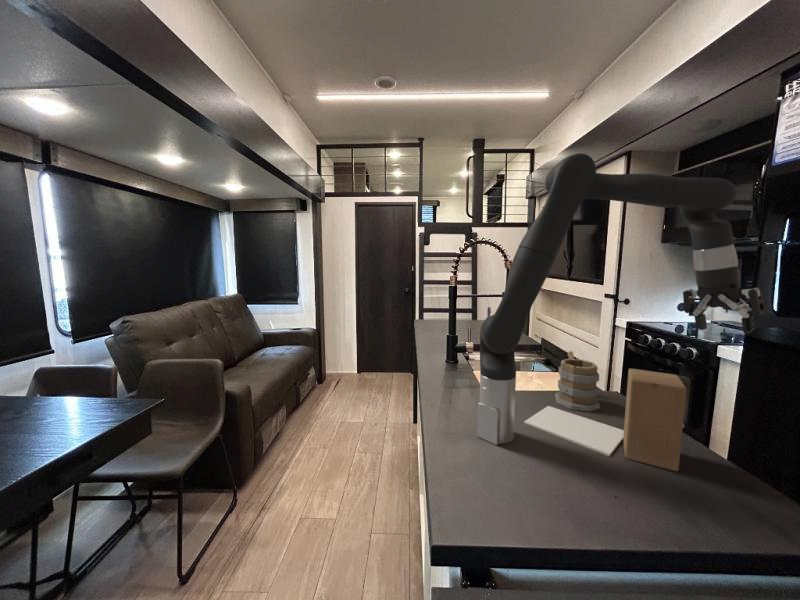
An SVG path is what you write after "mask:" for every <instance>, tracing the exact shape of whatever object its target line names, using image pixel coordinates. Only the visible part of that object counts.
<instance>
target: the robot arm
mask: <svg viewBox="0 0 800 600" xmlns="http://www.w3.org/2000/svg"><path fill="white" fill-rule="evenodd" d="M544 185H545V190H546V192H547V193H548V195H547V198H546V199H545V200H546V201H545V202H544V205H543V207H542V209H541V211H540V212H539V214H538V215H537V217H536V218H535V219H534V221H533V222H532V224H531V225H530V226H529V228H528V230H527V231H526V233H525V235H524V236H523V238H522V239H521V241H520V243H519V245H518V248H517V250H516V252H515V255H514V257H513V259H512V261H511V263H510V267H509V271H508V275H507V279H506V284H505V289H504V292H503V295H502V299H500V303H499V305H498V306H497V308H496V310H495V312H494V314H492V315H489V316H488V317H486V318H485V319H484V321H483V322H482V324H481V326H480V334H479V365H480V370H479V371H480V375H479V377H480V378H479V379H480V380H479V402H478V403H477V425H476V428H477V429H476V431H477V432H476V436H477V437H478V438H480V439H483V440H485V441H487V442H489V443H491V444H493V445H494V446H495V445H496V446H497V445H500V444H501V445H502V444H508V443H511V442H512V441H513V440H514V437H515V433H514V431H515V406H516V405H515V403H516V388H517V387H516V383H517V382H516V380H517V365H516V360H515V359H516V357H515V349H516V347H517V346H518V345H519V343H520V341H521V338H522V334H523V333H524V328H525V325H526V323H527V319H528V317H529V314H530V311H531V309H532V306H533V304H534V303H535V300H536V299H537V298H538V295H539V293H540V291H541V289H543V288H542V287H543V285H544V283H545V281H546V279H547V278H548V276H549V273H550V271H551V269H552V267H553V265H554V263H555V262H556V258H557V256H558V254H559V252H560V251H559V250H560V249H561V247H562V244H563V242H564V240H565V238H566V235H567V233H568V231H569V227H570V225H571V223H572V220H573V219H574V216H575V215H576V212H577V211H578V209H579V208H580V206H581V204H582V202H583V201H584V200H589V199H590V200H602V201H603V200H604V201H615V202H622V203H630V204H637V205H644V206H650V207H655V208H656V207H657V208H674V207H678V210H679V211H680V212H679V213H680V215H681V217H682V219H683V221H684V223H685V225H686V227H687V229H688V231H689V232H690V236H691V244H692V245H691V246H692V251H693V252H692V253H693V254H692V255H693V256H692V260H693V261H692V263H693V268H694V274H695V275H694V276H695V281H696V286H697V290H695V289H693V288H690V289H687V290H684V291H683V292H682V297H683V298H682V299H683V311H684V313H685V314H691V315H693V316H694V322H695V327H696V328H698V330H700V331H705V330H707V327H708V326H707V317H706V314H704V313H705V312H706V311H707V310H708V309H709V308H719V307H720V308H721V309H722V308H723V309H728V308H730V309H732V310H733V311H734V312H737V313H738V314H739V315H740V316H741V318H740V319H741V324H742V332H743V334H748V335H749V334H750V333H752V332H753V331H755V329H756V321H755V317H758V316H760V315H762V314H765V313H766V305H765V301H764V300H765V299H764V296H763V293H762V289H761V288H760V287H757V286H756V287H754V288H746V289H745V288H742V286H741V276H740V275H741V273H740V269H739V268H740V267H739V259H738V254H737V251H736V247H735V243H734V241H735V240H734V236H733V235H734V234H733V229H732V225H731V223H730V222H729V221H727V220H722V219H718V217H717V215H716V213H715V212H716V211H720V210H723V209H725V208H727V207H728V206H730V205H731V204H732V203H733V202H734V201H735V199H736V198H737V194H738V192H737V188H736V186H735V185H734V184H733V183H732V182H731V181H729V180H727V179H725V178H720V177H677V176H672V175H664V174H657V173H655V174H654V173H622V174H621V173H620V174H619V173H618V174H617V173H615V174H614V173H612V174H611V173H600V172H597V165H596V163H595V161H594V159H593V158H592V157H591V156H590V155H588V154H586V153H582V152H580V153H579V152H578V153H574V154H571V155H569V156H566V157H565V158H563V159H561V160H560V161H559V162H558V163H557V164H555V165H554V166H553V167H552V168H551V169H550V170H549V172H548V173H547V175H546V177H545V180H544ZM743 296H745V297H746V298H747V299H748V300H749V303H750V304H749V305H750V306H749V305H748V304H747V302H745V301H744V300H743V299H742V297H743ZM697 297H698V298H699V299H700V300H701V301H700V302H699V304H698V305H697V306H696V300H695V299H696V298H697Z"/></svg>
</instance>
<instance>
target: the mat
mask: <svg viewBox="0 0 800 600" xmlns="http://www.w3.org/2000/svg"><path fill="white" fill-rule="evenodd" d="M523 424H524V425H527V426H530V427H532V428H535V429H537V430H540V431H543V432H545V433H548V434H550V435H552V436H555V437H558V438H559V439H560V438H561V439H563V440H566V441H568V442H571V443H574V444H576V445H578V446H582V447H584V448H587V449H588V450H592V451H594V452H597V453H600V454H601V455H605V456H607V457H610V456H611V455H612V454H613V452H615V450H616V449H617V447H619V445H620V444H621V443H622V442H623V435H624V429H621V428H618V427H614V426H612V425H608V424H606V423H603V422H599V421H596V420H593V419H590V418H587V417H584V416H581V415H578V414H574V413H571V412H568V411H565V410H562V409H558V408H556V407H553V406H550V405H547V406H546V407H544V408H543V409H541V410H540V411H538V412H537V413H535V414H534V415H532V416H531V417H529V418H528V419H526V420H524V421H523Z"/></svg>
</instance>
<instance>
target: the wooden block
mask: <svg viewBox="0 0 800 600" xmlns="http://www.w3.org/2000/svg"><path fill="white" fill-rule="evenodd" d="M626 384H627V385H626V386H627V387H626V388H627V389H626V398H625V410H624V412H625V413H624V424H623V425H624V426H623V430H624V435H623V440H622V442H623V450H624V457H625V459H627V460H631V461H636V462H638V463H643V464H647V465H651V466H654V467H659V468H662V469H666V470H670V471H673V472H678V471H679V468H680V456H681V450H682V449H681V447H682V446H681V445H682V436H683V427H684V417H685V408H686V398H687V396H686V395H687V387H686V386H685V384H684V382H683V380H682V379H681V378H680V377H679V375H677V374H673V373H666V372H658V371H651V370H646V369H645V370H644V369H638V368H628V373H627V383H626Z"/></svg>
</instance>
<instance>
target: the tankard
mask: <svg viewBox="0 0 800 600" xmlns="http://www.w3.org/2000/svg"><path fill="white" fill-rule="evenodd" d="M558 375H559V377H560V378H559V379H558V380H557V387H558V390H559V391H558V392H555V393H554V398H555V397H556V398H555V402H556V403H557V404H558V403H559V404H558V405H560V404H561V405H560V406H562V405H563V406H562V407H564V406H565V408H567V409H569V410H571V409H572V411H579V410H580V411H579V412H586V411H587V412H592V411H595V410H599V409H600V408H601V403H599V400H598V399H597V398H596V397H597V396H599V388H598V386H597V383H598V382H599V381H600V374H599V372H598V365H597V364H595V363H594V362H592V361H588V360H585V359H580V358H579V359H578V358H577V359H575V356H574V352H573V350H571V351H568V352H567V358H566V359H561V361H560V366H558Z"/></svg>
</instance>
